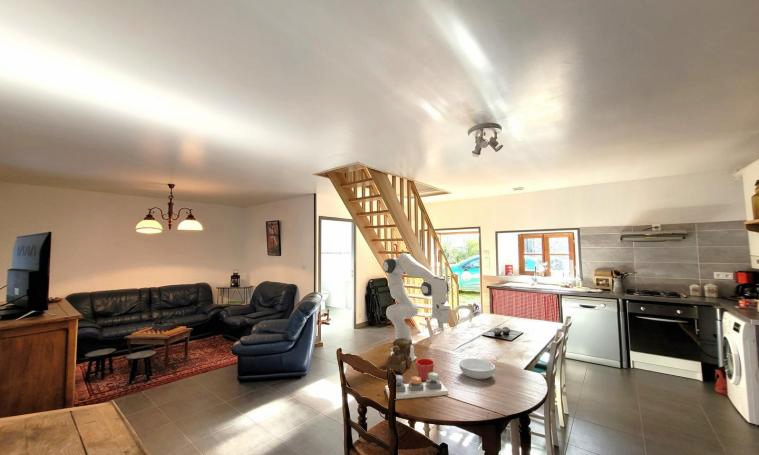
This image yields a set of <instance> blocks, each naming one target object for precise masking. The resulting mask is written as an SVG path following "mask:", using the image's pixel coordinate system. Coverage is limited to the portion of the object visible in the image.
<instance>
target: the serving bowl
mask: <svg viewBox="0 0 759 455" xmlns="http://www.w3.org/2000/svg"><path fill="white" fill-rule="evenodd" d="M458 365H459V366H458V367H459V369H460V371H461V373H463V375H465V376H467V377H469V378H472V379H477V380H482V379H484V380H485V379H488V378H490V377H492V376H493V375H494V373H495V369H496V366H495V364H493V363H492V362H491V361H488V360H485V359H480V358H464V359H461V360H460V361H459V362H458Z"/></svg>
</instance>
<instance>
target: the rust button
mask: <svg viewBox="0 0 759 455" xmlns="http://www.w3.org/2000/svg"><path fill="white" fill-rule="evenodd" d="M410 381H411V383H412V384H414V385H418V384H421V382H422V380H421V378H420V377H419V376H411V377H410Z"/></svg>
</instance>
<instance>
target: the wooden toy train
mask: <svg viewBox="0 0 759 455" xmlns="http://www.w3.org/2000/svg"><path fill="white" fill-rule="evenodd" d="M411 345H412V346H413V340H412V339H411V340H409V339H397V340H395V339H394V340H393V342H392V346H394V347H392V348H393V349H392V350H393V352H394V354H392V355H391V356H389V357H390V358H389V359H387V362H386V369H387V368H391V369H393V370H394V371H393V372H396V373H397V372H399V373H400V374H404V373H405V372H406V368H407V369H409V368H411V367H412V364H413V363H412V362H413V361H412V359H411V357H410V349H411V347H410V346H411Z"/></svg>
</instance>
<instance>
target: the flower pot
mask: <svg viewBox="0 0 759 455" xmlns="http://www.w3.org/2000/svg"><path fill="white" fill-rule="evenodd" d="M434 364H435V361H434V360H432V359H429V358H420V359H416V361H415V366H416V371H417V377H420V378H421V381H423V382H426V380H430V379H429V378H428V374H429V373H431V372H434Z"/></svg>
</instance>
